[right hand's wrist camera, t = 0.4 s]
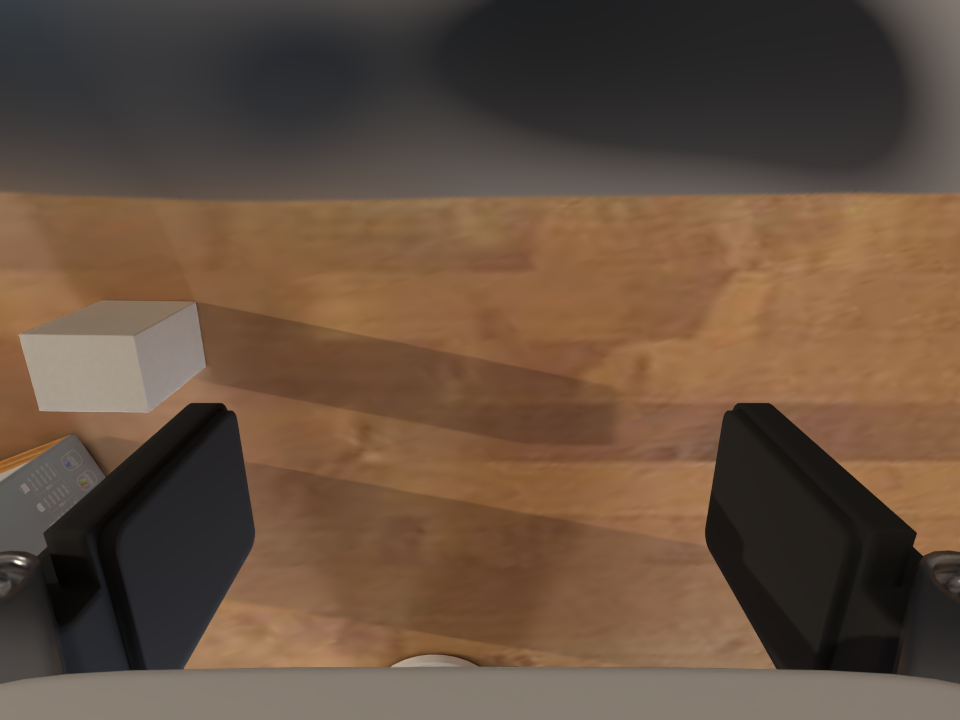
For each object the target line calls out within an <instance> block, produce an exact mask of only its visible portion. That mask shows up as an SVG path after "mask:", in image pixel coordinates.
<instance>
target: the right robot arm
mask: <svg viewBox="0 0 960 720" xmlns="http://www.w3.org/2000/svg"><path fill="white" fill-rule="evenodd" d="M43 534H44V538H45V541H46V544H47V547H46V548H45V549H44V550H43V551H42V552H41V553H40V554H39V555H38V556H36V555H33V554H31V553H28V552H26V551H5V552H0V720H960V552H955V551H934V552H932V553H929V554H927V555H924V556H922V555H921V554H920V553H919V552H918V551H917V550H916V549H915V548H914V547H913V544H914V541H915V538H916V534H917V533H916V532H915V531H914V530H913V529H912V528H911V527H910V526H908V525H907V524H906V523H905V522H904V521H903V520H902V519H901V518H899V517H898V516H897V515H896V514H895V513H894V512H893V511H891V510H890V509H889V508H888V507H887V506H886V505H885V504H884V503H882V502H881V501H880V500H879V499H878V498H877V497H876V496H874V495H873V494H872V493H871V492H870V491H869V490H868V489H867V488H865V487H864V486H863V485H862V484H861V483H860V482H859V481H858V480H856V479H855V478H854V477H853V476H852V475H851V474H850V473H848V472H847V471H846V470H845V469H844V468H843V467H842V466H841V465H839V464H838V463H837V462H836V461H835V460H834V459H833V458H832V457H830V456H829V455H828V454H827V453H826V452H825V451H824V450H822V449H821V448H820V447H819V446H818V445H817V444H816V443H815V442H813V441H812V440H811V439H810V438H809V437H808V436H807V435H806V434H804V433H803V432H802V431H801V430H800V429H799V428H798V427H796V426H795V425H794V424H793V423H792V422H791V421H790V420H789V419H787V418H786V417H785V416H784V415H783V414H782V413H781V412H780V411H778V410H777V409H776V408H775V407H774V406H773V405H771V404H769V403H737V404H736V405H735V406H734V408H733V410H732V411H727V412H725V414H724V417H723V422H722V428H721V434H720V440H719V447H718V453H717V459H716V465H715V472H714V478H713V484H712V490H711V496H710V503H709V509H708V515H707V521H706V528H705V538H706V543H707V546H708V549H709V551H710V552H711V554H712V556H713V558H714V560H715V561H716V563H717V565H718V567H719V568H720V570H721V572H722V574H723V575H724V577H725V579H726V581H727V582H728V584H729V586H730V588H731V589H732V591H733V593H734V595H735V596H736V598H737V600H738V602H739V604H740V605H741V607H742V609H743V611H744V612H745V614H746V616H747V618H748V619H749V621H750V623H751V625H752V626H753V628H754V630H755V632H756V633H757V635H758V637H759V639H760V640H761V642H762V644H763V646H764V648H765V649H766V651H767V653H768V655H769V656H770V658H771V660H772V662H773V663H774V665H775V667H776V669H728V668H670V667H479V666H477V665H475V664H473V663H471V662H469V661H467V660H463V659H460V658H457V657H453V656H447V655H422V656H416V657H412V658H409V659H405V660H403V661H401V662H399V663H396V664H394V665H393V666H391V667H290V668H232V669H184V667H185V665H186V663H187V662H188V660H189V658H190V656H191V655H192V653H193V651H194V649H195V648H196V646H197V644H198V642H199V640H200V639H201V637H202V635H203V633H204V632H205V630H206V628H207V626H208V625H209V623H210V621H211V619H212V618H213V616H214V614H215V612H216V611H217V609H218V607H219V605H220V604H221V602H222V600H223V598H224V596H225V595H226V593H227V591H228V589H229V588H230V586H231V584H232V582H233V581H234V579H235V577H236V575H237V574H238V572H239V570H240V568H241V567H242V565H243V563H244V561H245V560H246V558H247V556H248V554H249V552H250V551H251V549H252V546H253V543H254V538H255V528H254V521H253V515H252V509H251V503H250V497H249V490H248V484H247V478H246V472H245V465H244V459H243V453H242V447H241V440H240V434H239V428H238V422H237V417H236V414H235V412H233V411H228V410H227V408H226V406H225V405H224V404H223V403H191V404H189V405H187V406H186V407H185V408H184V409H183V410H182V411H180V412H179V413H178V414H177V415H176V416H175V417H174V418H173V419H171V420H170V421H169V422H168V423H167V424H166V425H165V426H164V427H162V428H161V429H160V430H159V431H158V432H157V433H156V434H154V435H153V436H152V437H151V438H150V439H149V440H148V441H147V442H145V443H144V444H143V445H142V446H141V447H140V448H139V449H138V450H136V451H135V452H134V453H133V454H132V455H131V456H130V457H128V458H127V459H126V460H125V461H124V462H123V463H122V464H121V465H119V466H118V467H117V468H116V469H115V470H114V471H113V472H112V473H110V474H109V475H108V476H107V477H106V478H105V479H104V480H102V481H101V482H100V483H99V484H98V485H97V486H96V487H95V488H93V489H92V490H91V491H90V492H89V493H88V494H87V495H85V496H84V497H83V498H82V499H81V500H80V501H79V502H78V503H76V504H75V505H74V506H73V507H72V508H71V509H70V510H69V511H67V512H66V513H65V514H64V515H63V516H62V517H61V518H59V519H58V520H57V521H56V522H55V523H54V524H53V525H52V526H50V527H49V528H48V529H47V530H46V531H45V532H44V533H43Z"/></svg>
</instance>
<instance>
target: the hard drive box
mask: <svg viewBox="0 0 960 720" xmlns="http://www.w3.org/2000/svg"><path fill="white" fill-rule="evenodd" d="M105 478H106V477H105V475H104V474H103V473H102V471H101V470H100V468H99V467H98V466H97V464H96V463H95V461H94V460H93V459H92V457H91V456H90V454H89V453H88V451H87V450H86V449H85V447H84V446H83V444H82V443H81V442H80V440H79V439H78V437H77V436H76V435H75V434H71V435H68V436H65V437H62V438H60V439H57V440H54V441H52V442H49V443H47V444H44V445H41V446H38V447H35V448H33V449H30V450H28V451H25V452H23V453H20V454H18V455H15V456H12V457H10V458H7V459H4V460H2V461H0V552H5V551H26V552H28V553H31V554H33V555H36V556H38V555H39V554H40V553H41V552H42V551H43V550H44V549H45V548H46V547H47V544H46V541H45V538H44V534H43V533H44V532H45V531H46V530H47V529H48V528H49V527H50V526H52V525H53V524H54V523H55V522H56V521H57V520H58V519H59V518H61V517H62V516H63V515H64V514H65V513H66V512H67V511H69V510H70V509H71V508H72V507H73V506H74V505H75V504H76V503H78V502H79V501H80V500H81V499H82V498H83V497H84V496H85V495H87V494H88V493H89V492H90V491H91V490H92V489H93V488H95V487H96V486H97V485H98V484H99V483H100V482H101V481H102V480H104V479H105Z"/></svg>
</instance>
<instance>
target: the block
mask: <svg viewBox="0 0 960 720" xmlns="http://www.w3.org/2000/svg"><path fill="white" fill-rule="evenodd" d="M19 338H20V341H21V345H22V348H23V352H24V356H25V359H26V363H27V367H28V370H29V374H30V377H31V381H32V385H33V388H34V392H35V396H36V399H37V403H38V406H39V410H40V411H86V412H150V411H151V410H152V409H154V408H155V407H156V406H157V405H159V404H160V403H161V402H162V401H164V400H165V399H166V398H167V397H169V396H170V395H171V394H172V393H174V392H175V391H176V390H177V389H179V388H180V387H181V386H182V385H184V384H185V383H186V382H187V381H189V380H190V379H191V378H192V377H193V376H195V375H196V374H197V373H198V372H200V371H201V370H202V369H203V368H205V367H206V362H205V356H204V350H203V343H202V337H201V331H200V325H199V319H198V312H197V306H196V302H187V301H112V300H101V301H99V302H97V303H94V304H92V305H89V306H87V307H84V308H82V309H79V310H77V311H75V312H72V313H70V314H67V315H65V316H62V317H60V318H57V319H55V320H53V321H50V322H48V323H45V324H43V325H40V326H38V327H35V328H33V329H31V330H28V331H26V332H23V333H21V334H19Z"/></svg>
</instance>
